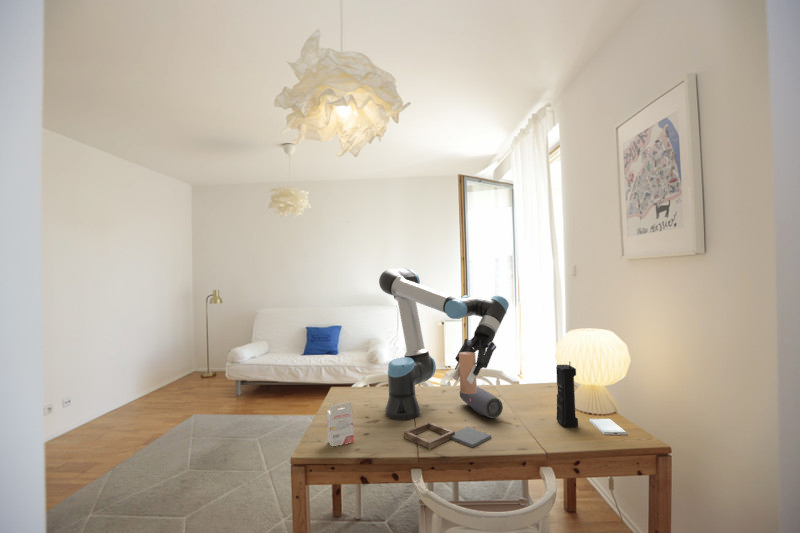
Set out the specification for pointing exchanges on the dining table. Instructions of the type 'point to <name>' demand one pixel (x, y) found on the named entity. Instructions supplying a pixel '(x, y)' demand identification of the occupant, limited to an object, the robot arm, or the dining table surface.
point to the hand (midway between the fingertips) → (461, 380)
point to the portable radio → (566, 396)
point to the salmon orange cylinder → (467, 372)
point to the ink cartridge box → (340, 424)
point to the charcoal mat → (470, 436)
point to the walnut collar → (429, 444)
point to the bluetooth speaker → (483, 403)
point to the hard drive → (607, 427)
